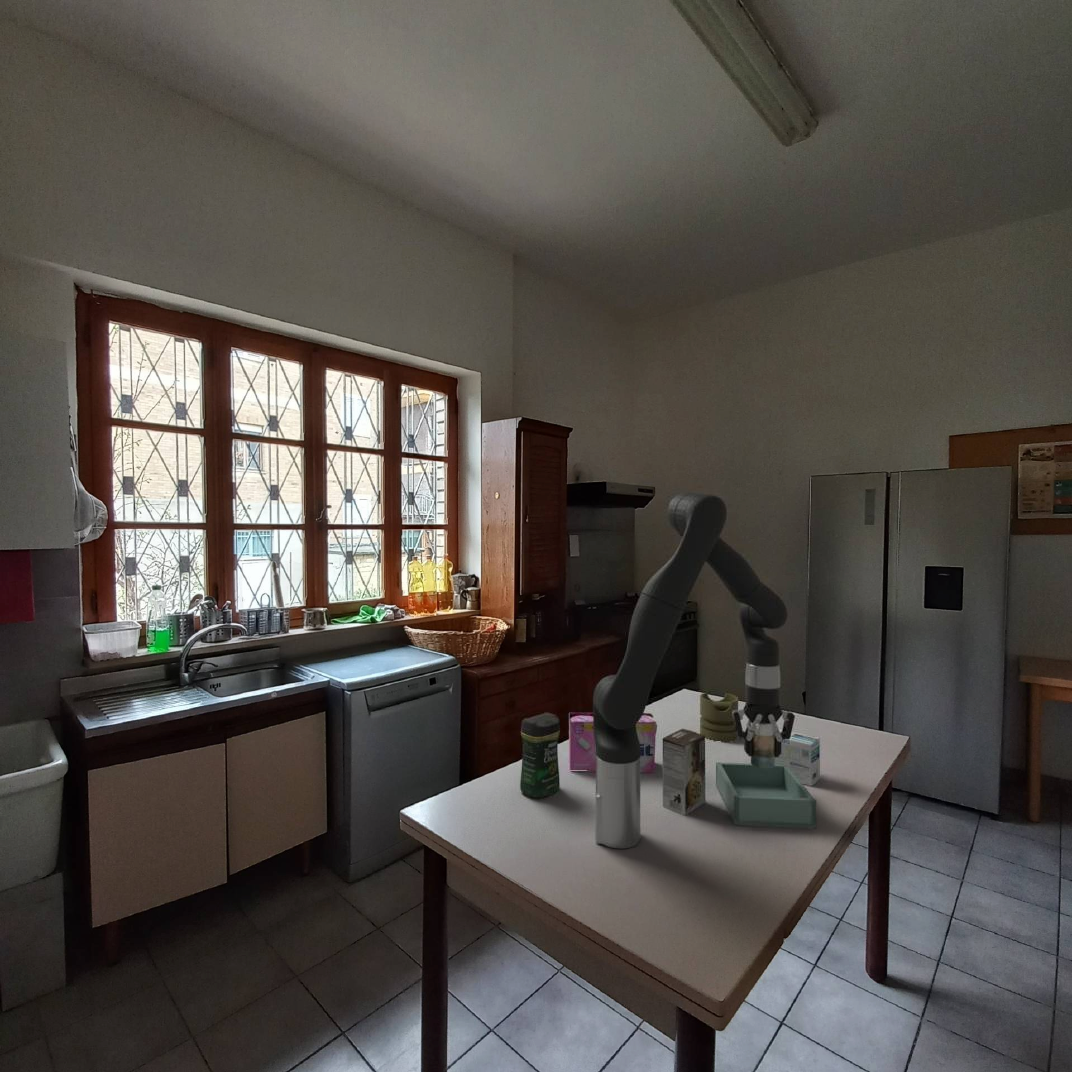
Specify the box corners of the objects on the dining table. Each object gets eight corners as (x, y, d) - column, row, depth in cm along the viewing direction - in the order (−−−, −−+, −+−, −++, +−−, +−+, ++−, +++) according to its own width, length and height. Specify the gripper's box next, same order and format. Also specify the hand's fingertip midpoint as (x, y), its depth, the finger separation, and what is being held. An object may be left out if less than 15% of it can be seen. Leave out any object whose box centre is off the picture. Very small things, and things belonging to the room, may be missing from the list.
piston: (741, 703, 174) (703, 701, 176) (741, 743, 175) (702, 741, 176) (734, 692, 186) (697, 691, 187) (734, 730, 186) (697, 728, 187)
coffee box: (682, 793, 141) (682, 727, 141) (706, 802, 137) (706, 734, 137) (661, 806, 135) (661, 737, 135) (685, 816, 130) (685, 744, 130)
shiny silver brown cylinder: (754, 768, 132) (754, 724, 132) (747, 759, 138) (747, 717, 138) (778, 769, 132) (778, 725, 132) (771, 759, 137) (771, 717, 137)
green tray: (734, 824, 127) (734, 797, 126) (716, 786, 145) (716, 762, 145) (815, 828, 125) (816, 800, 125) (786, 788, 144) (786, 764, 144)
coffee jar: (537, 802, 137) (537, 724, 137) (515, 791, 143) (514, 716, 142) (565, 789, 144) (565, 715, 143) (543, 779, 149) (543, 707, 149)
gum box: (655, 761, 161) (655, 712, 161) (660, 773, 153) (660, 722, 153) (568, 760, 162) (568, 711, 162) (569, 772, 154) (569, 721, 154)
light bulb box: (820, 779, 150) (821, 737, 150) (812, 787, 145) (812, 744, 145) (778, 767, 157) (778, 727, 157) (769, 775, 152) (769, 734, 152)
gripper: (734, 686, 132) (734, 761, 132) (800, 688, 130) (800, 763, 130) (727, 678, 139) (727, 748, 139) (789, 679, 138) (789, 750, 138)
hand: (762, 755), depth 135 cm, fingers closed on shiny silver brown cylinder, 5 cm apart
